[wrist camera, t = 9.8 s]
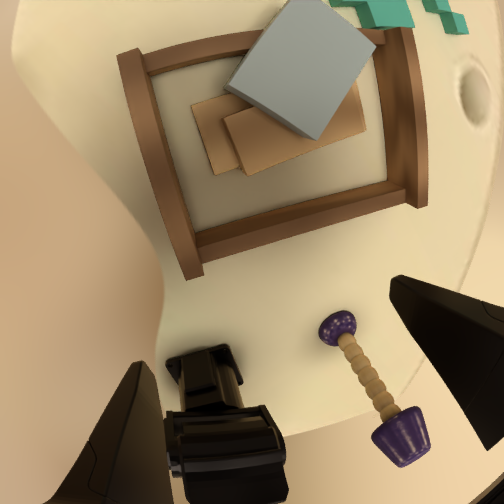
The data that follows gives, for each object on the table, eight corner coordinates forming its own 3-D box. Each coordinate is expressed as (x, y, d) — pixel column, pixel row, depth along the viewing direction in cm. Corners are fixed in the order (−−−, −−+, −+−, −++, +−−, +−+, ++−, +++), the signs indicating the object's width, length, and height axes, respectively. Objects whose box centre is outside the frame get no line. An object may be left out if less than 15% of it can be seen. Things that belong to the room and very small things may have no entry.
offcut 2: (353, 129, 19) (364, 131, 18) (242, 172, 19) (247, 176, 18) (338, 79, 17) (349, 78, 16) (220, 118, 17) (223, 118, 16)
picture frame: (397, 190, 23) (427, 205, 20) (184, 252, 21) (185, 280, 18) (379, 35, 17) (411, 28, 13) (128, 66, 15) (116, 55, 11)
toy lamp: (344, 342, 31) (421, 460, 16) (308, 347, 30) (380, 481, 15) (359, 308, 29) (453, 431, 14) (321, 312, 28) (413, 454, 13)
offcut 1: (356, 128, 21) (366, 130, 20) (212, 171, 20) (215, 175, 19) (342, 70, 18) (352, 68, 17) (190, 106, 18) (191, 105, 16)
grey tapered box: (359, 50, 15) (303, 137, 18) (290, -3, 13) (223, 87, 15) (376, 46, 14) (317, 141, 16) (301, -13, 11) (228, 84, 13)
